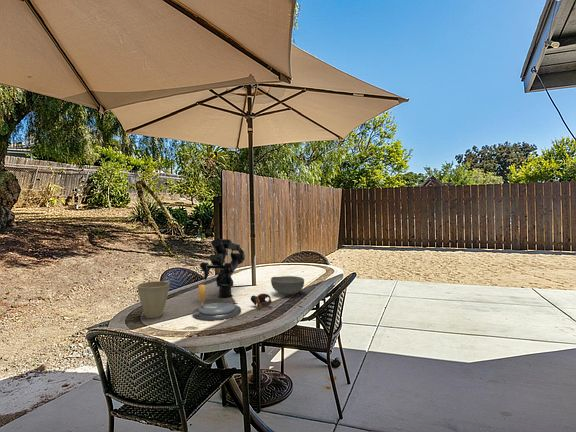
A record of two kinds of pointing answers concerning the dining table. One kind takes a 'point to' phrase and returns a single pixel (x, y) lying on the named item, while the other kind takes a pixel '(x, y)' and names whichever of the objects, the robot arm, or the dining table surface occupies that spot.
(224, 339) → the dining table surface
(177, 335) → the dining table surface
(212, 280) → the dining table surface
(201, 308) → the dial
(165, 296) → the plant pot
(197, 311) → the dial plate
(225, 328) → the dining table surface
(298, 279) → the bowl
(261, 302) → the brown animal figurine
